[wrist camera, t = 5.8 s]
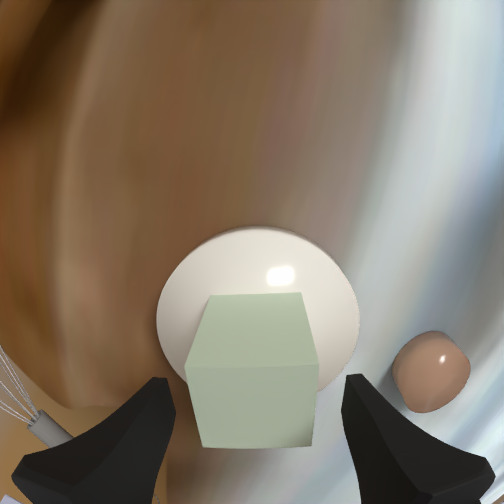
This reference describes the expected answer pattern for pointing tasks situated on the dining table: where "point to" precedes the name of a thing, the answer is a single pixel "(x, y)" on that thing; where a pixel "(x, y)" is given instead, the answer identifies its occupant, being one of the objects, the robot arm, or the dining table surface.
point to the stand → (261, 291)
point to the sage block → (254, 372)
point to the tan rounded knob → (430, 371)
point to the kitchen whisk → (39, 419)
